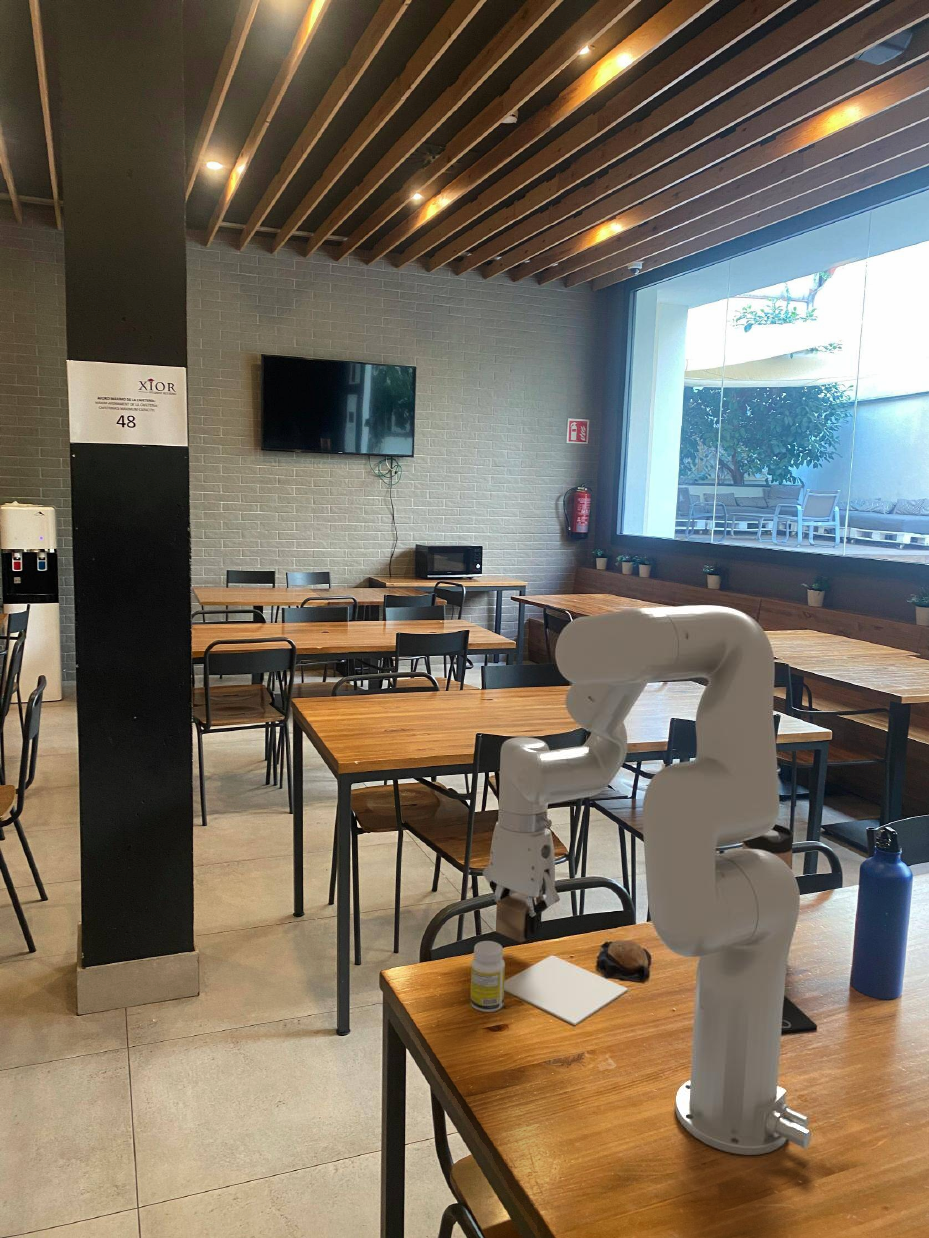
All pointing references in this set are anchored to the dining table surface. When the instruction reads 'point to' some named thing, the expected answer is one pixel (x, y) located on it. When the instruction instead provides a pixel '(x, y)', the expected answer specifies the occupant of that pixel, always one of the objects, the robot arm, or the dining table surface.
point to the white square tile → (563, 989)
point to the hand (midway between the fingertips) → (518, 929)
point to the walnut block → (512, 916)
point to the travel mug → (774, 843)
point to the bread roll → (624, 961)
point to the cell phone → (795, 1019)
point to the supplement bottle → (487, 977)
